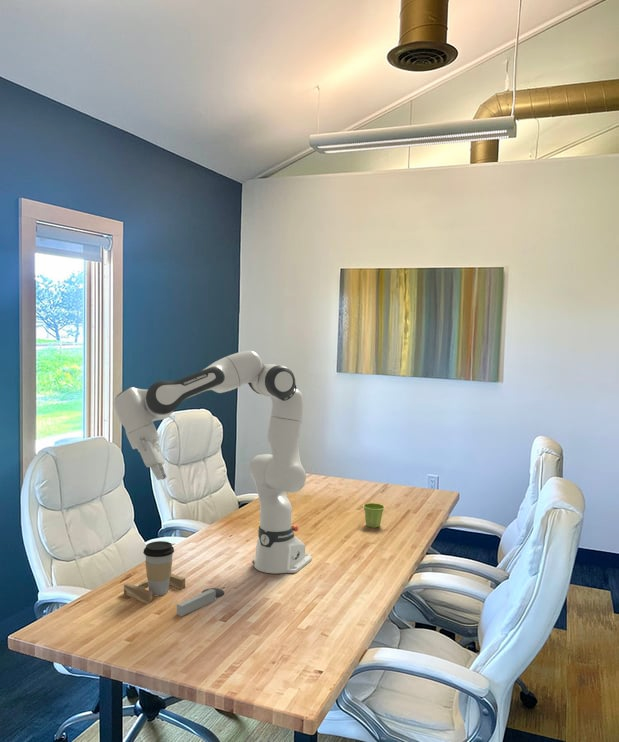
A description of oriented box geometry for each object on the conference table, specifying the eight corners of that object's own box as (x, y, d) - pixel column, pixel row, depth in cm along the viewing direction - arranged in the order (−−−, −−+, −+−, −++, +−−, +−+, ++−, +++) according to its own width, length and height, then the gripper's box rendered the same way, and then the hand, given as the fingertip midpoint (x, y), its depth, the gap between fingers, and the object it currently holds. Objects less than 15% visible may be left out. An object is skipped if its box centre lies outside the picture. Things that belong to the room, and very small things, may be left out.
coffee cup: (178, 588, 199) (179, 542, 198) (164, 600, 190) (165, 552, 189) (152, 584, 201) (153, 538, 200) (136, 595, 192) (137, 548, 191)
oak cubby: (161, 578, 206) (162, 569, 206) (185, 587, 200) (185, 578, 199) (123, 593, 193) (124, 584, 193) (147, 603, 187) (147, 594, 187)
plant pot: (383, 523, 274) (384, 503, 273) (384, 529, 265) (385, 509, 264) (362, 521, 275) (363, 502, 274) (362, 528, 265) (362, 508, 265)
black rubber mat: (212, 586, 201) (212, 586, 201) (228, 592, 197) (228, 592, 197) (196, 594, 195) (196, 593, 195) (213, 600, 191) (213, 599, 191)
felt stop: (210, 598, 192) (210, 588, 192) (215, 600, 191) (215, 590, 191) (176, 614, 181) (177, 604, 181) (181, 616, 180) (181, 606, 179)
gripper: (149, 431, 183) (168, 474, 181) (157, 435, 203) (175, 474, 201) (128, 441, 181) (148, 484, 180) (139, 444, 202) (156, 482, 200)
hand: (162, 479), depth 191 cm, fingers open, 8 cm apart
